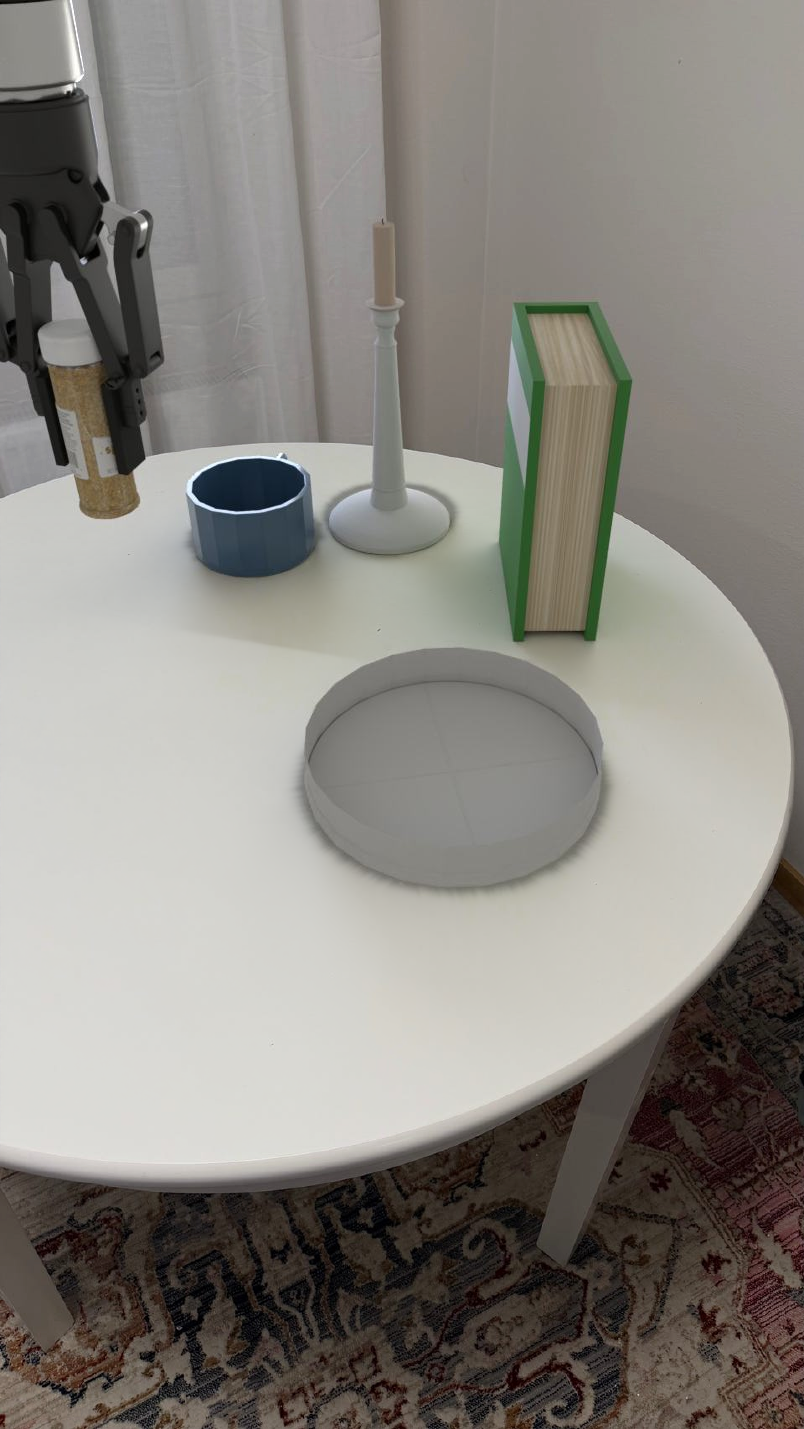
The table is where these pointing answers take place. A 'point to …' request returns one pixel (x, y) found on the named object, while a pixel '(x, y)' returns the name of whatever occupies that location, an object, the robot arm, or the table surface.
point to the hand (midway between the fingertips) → (101, 461)
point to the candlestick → (387, 440)
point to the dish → (453, 766)
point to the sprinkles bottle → (85, 418)
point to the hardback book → (560, 464)
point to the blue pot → (251, 515)
